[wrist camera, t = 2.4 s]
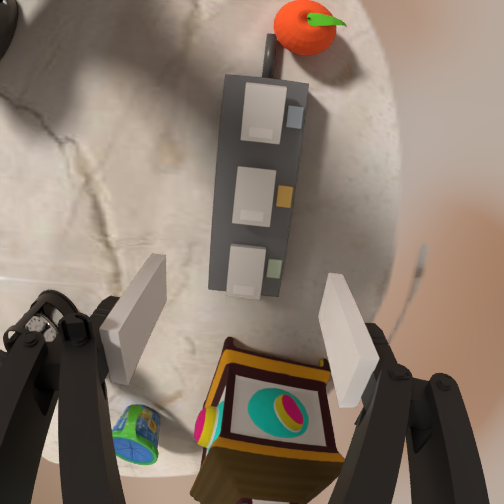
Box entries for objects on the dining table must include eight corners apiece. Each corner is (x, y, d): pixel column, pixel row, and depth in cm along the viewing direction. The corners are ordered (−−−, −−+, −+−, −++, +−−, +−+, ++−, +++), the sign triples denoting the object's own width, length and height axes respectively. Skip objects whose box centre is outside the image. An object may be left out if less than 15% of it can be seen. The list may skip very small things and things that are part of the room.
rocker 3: (231, 243, 38) (230, 246, 37) (265, 247, 38) (266, 250, 37) (226, 292, 40) (225, 296, 38) (259, 295, 40) (259, 300, 38)
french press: (31, 284, 47) (-48, 364, 26) (71, 287, 47) (-8, 381, 26) (49, 337, 52) (-11, 421, 31) (88, 344, 52) (31, 440, 30)
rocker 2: (238, 167, 35) (237, 166, 33) (275, 171, 35) (276, 170, 33) (232, 221, 36) (231, 223, 34) (268, 225, 36) (269, 227, 34)
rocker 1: (246, 82, 30) (245, 83, 28) (286, 86, 30) (287, 88, 29) (241, 136, 33) (240, 140, 32) (278, 140, 33) (279, 144, 32)
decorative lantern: (195, 402, 56) (168, 547, 29) (220, 324, 48) (186, 513, 21) (295, 422, 58) (304, 560, 30) (339, 353, 50) (380, 522, 23)
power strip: (234, 33, 32) (231, 24, 28) (309, 42, 32) (314, 33, 29) (212, 274, 45) (207, 290, 41) (277, 281, 45) (278, 298, 41)
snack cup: (120, 383, 55) (103, 422, 46) (172, 400, 56) (161, 442, 47) (119, 424, 61) (106, 458, 52) (163, 438, 62) (154, 474, 53)
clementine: (335, 11, 30) (349, -8, 24) (340, 60, 33) (356, 49, 27) (270, 10, 31) (271, -10, 24) (275, 60, 34) (277, 48, 27)
